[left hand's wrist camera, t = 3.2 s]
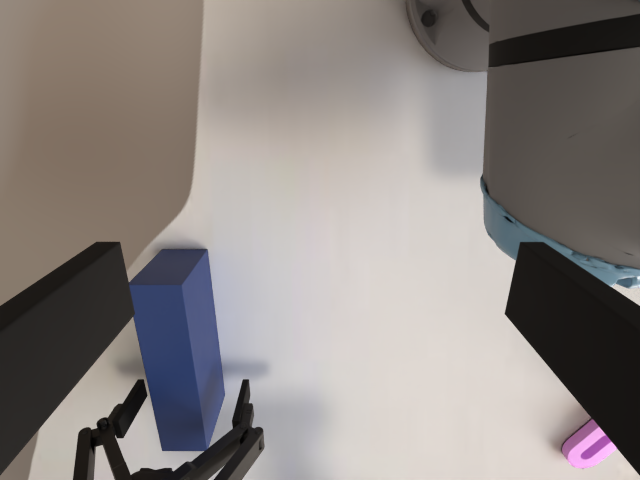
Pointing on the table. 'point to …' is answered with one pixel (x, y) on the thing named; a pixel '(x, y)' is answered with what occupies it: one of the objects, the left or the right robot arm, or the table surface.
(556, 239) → the left robot arm
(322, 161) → the table surface
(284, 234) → the table surface
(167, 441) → the bar
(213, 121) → the table surface
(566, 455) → the bracket
